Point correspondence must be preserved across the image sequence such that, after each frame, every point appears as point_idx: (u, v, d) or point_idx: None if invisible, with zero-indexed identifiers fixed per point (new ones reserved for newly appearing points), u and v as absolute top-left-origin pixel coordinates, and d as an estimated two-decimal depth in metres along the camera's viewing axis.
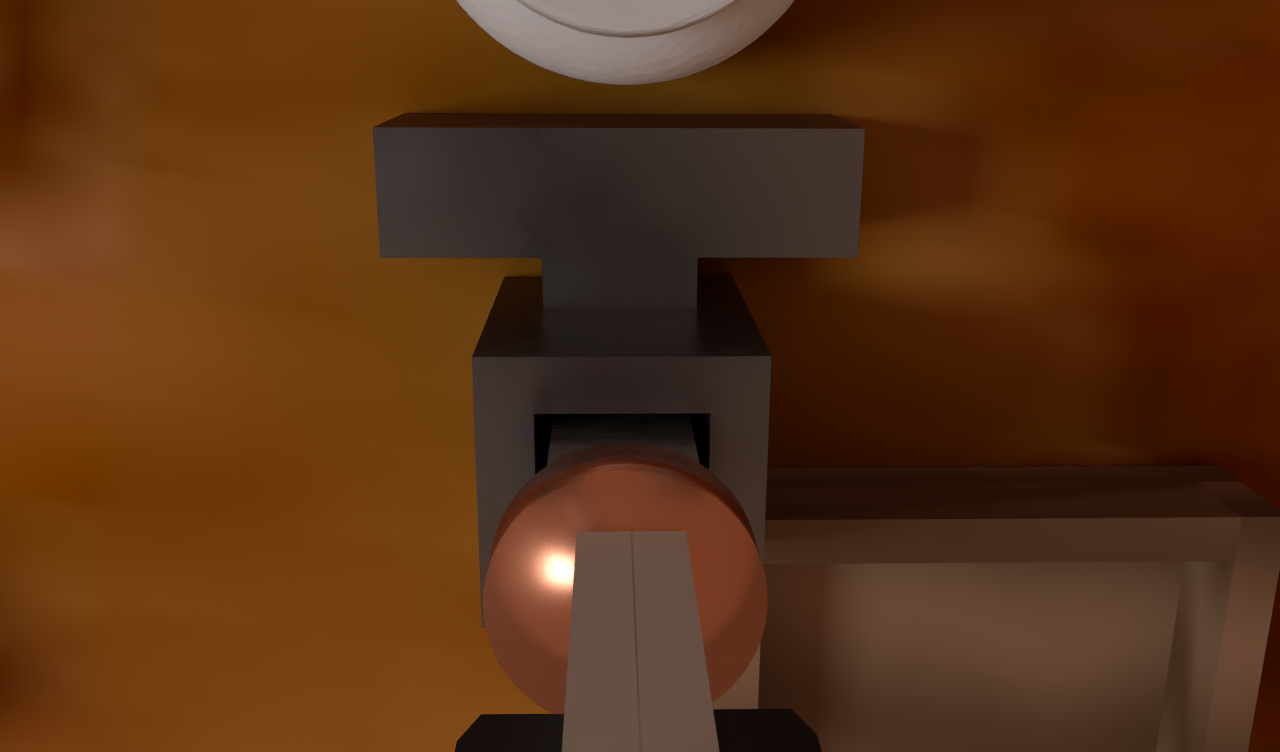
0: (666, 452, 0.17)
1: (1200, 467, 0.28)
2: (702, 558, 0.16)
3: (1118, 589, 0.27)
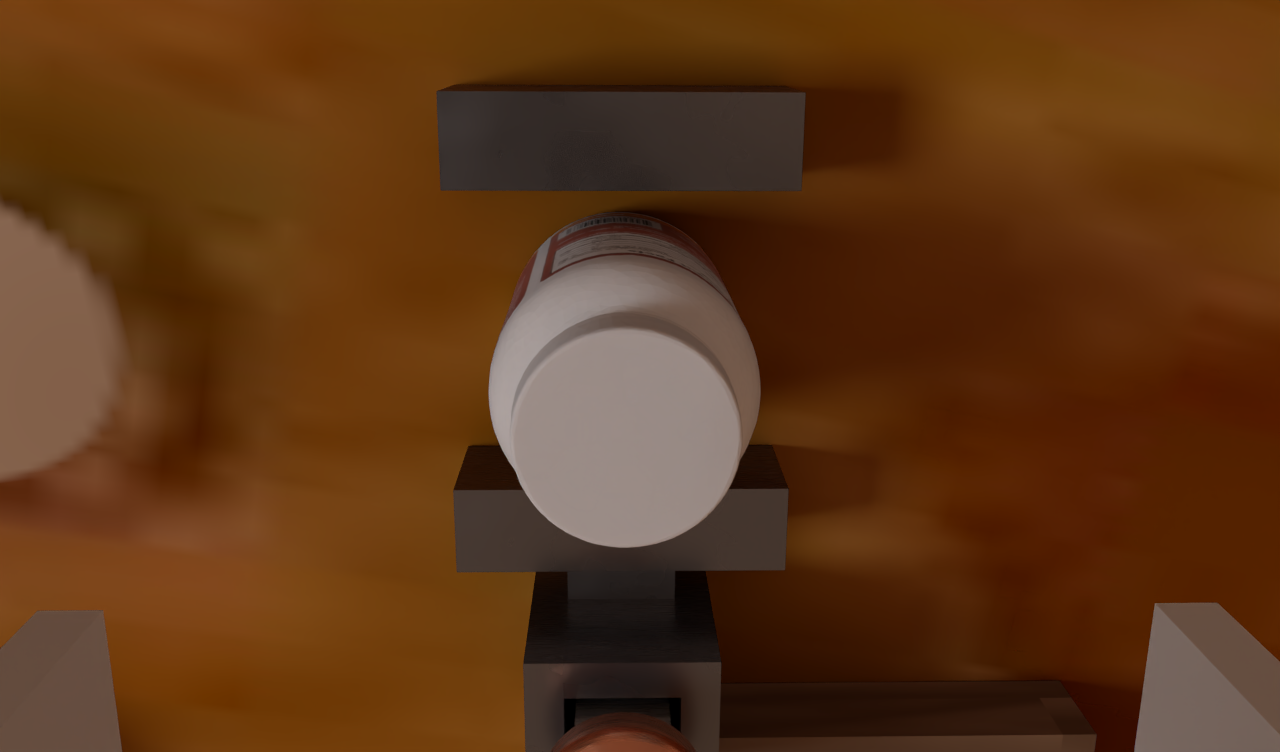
0: (648, 718, 0.29)
1: (1046, 682, 0.38)
2: None
3: None
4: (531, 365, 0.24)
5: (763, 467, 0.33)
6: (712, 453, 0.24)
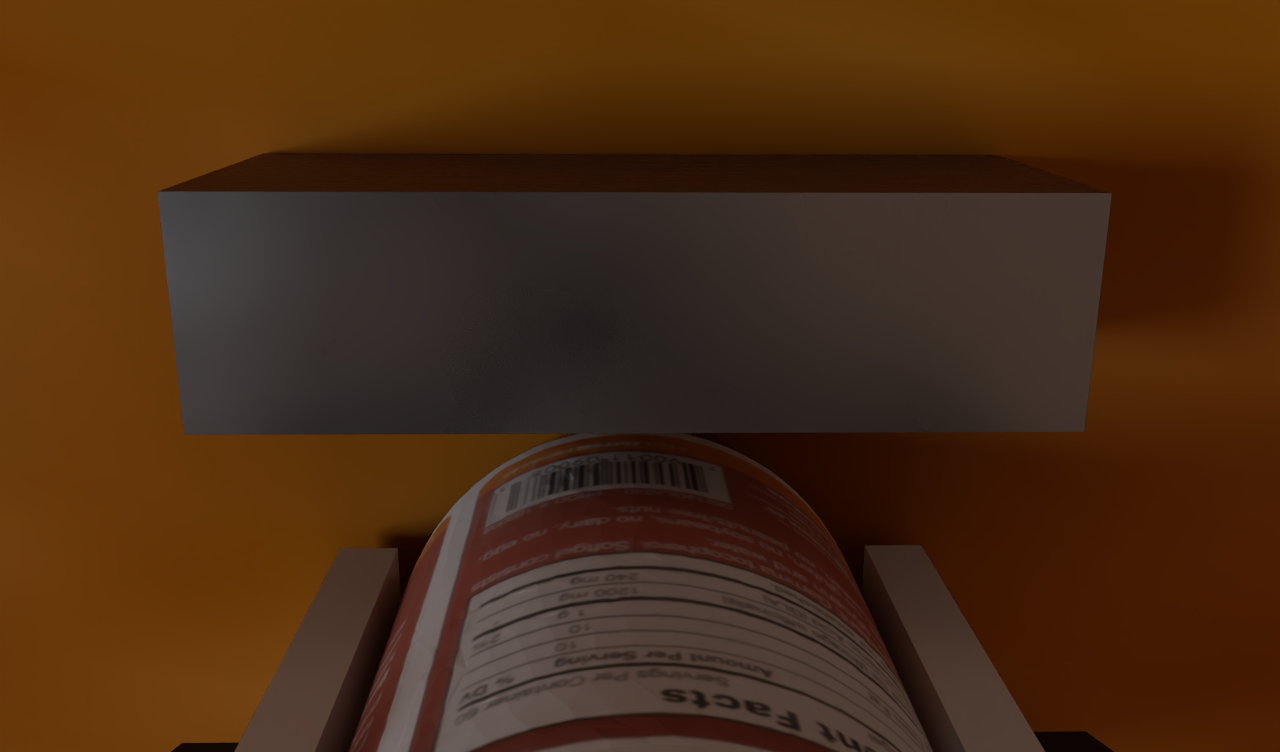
0: None
1: None
2: None
3: None
4: None
5: None
6: None
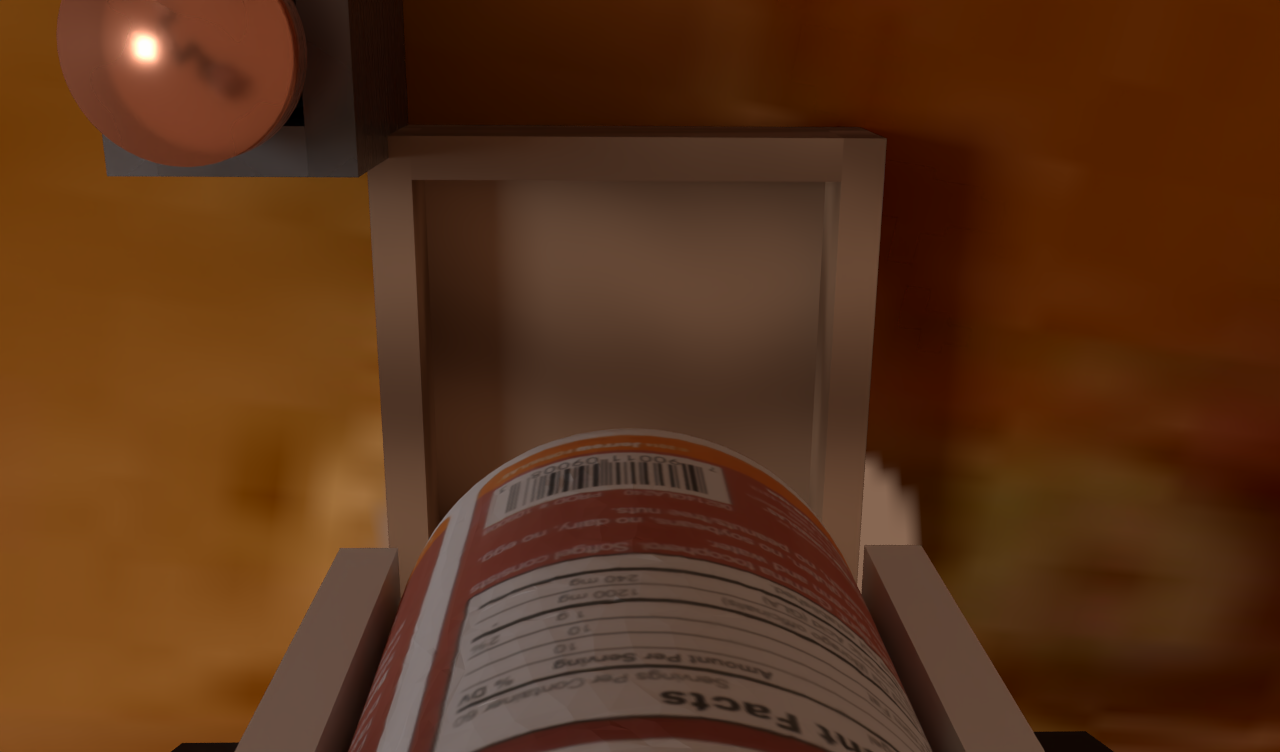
0: None
1: (842, 127, 0.30)
2: (232, 7, 0.20)
3: (766, 236, 0.30)
4: None
5: None
6: None
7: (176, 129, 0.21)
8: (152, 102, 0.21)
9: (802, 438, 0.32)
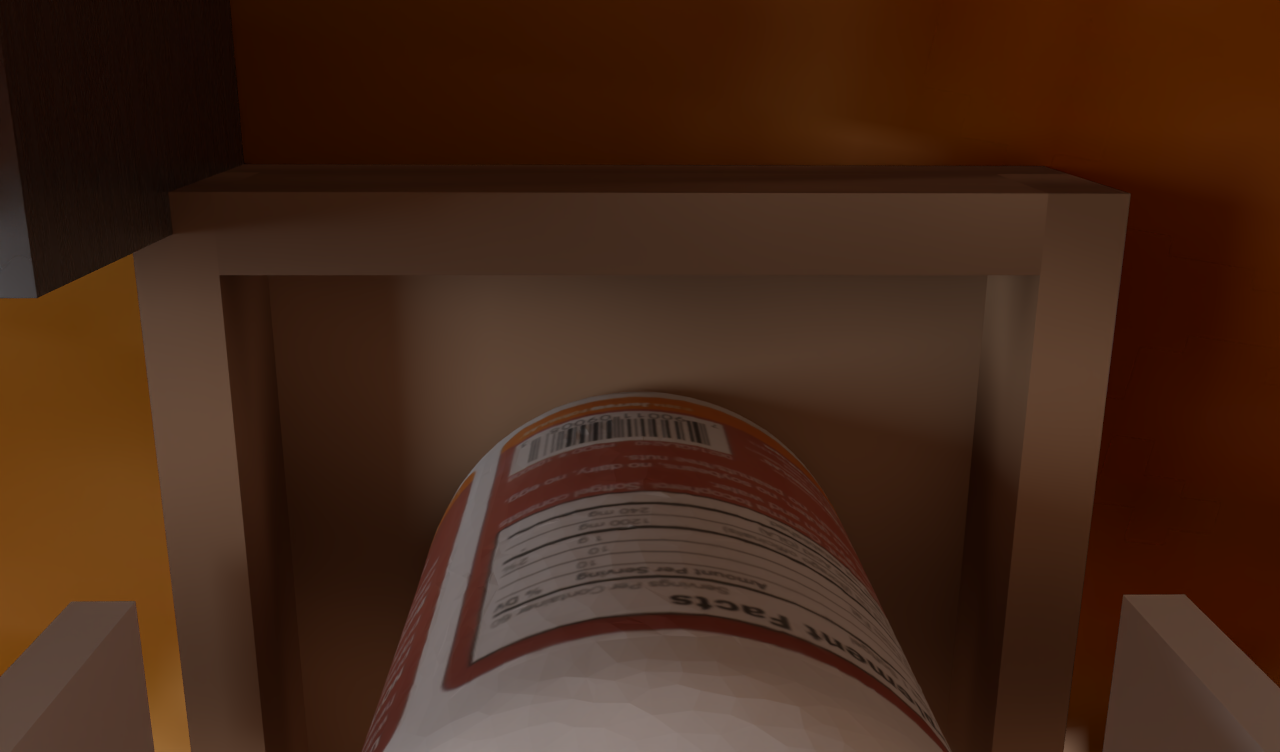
0: None
1: (1014, 166, 0.17)
2: None
3: (880, 361, 0.17)
4: None
5: None
6: None
7: None
8: None
9: (933, 696, 0.18)
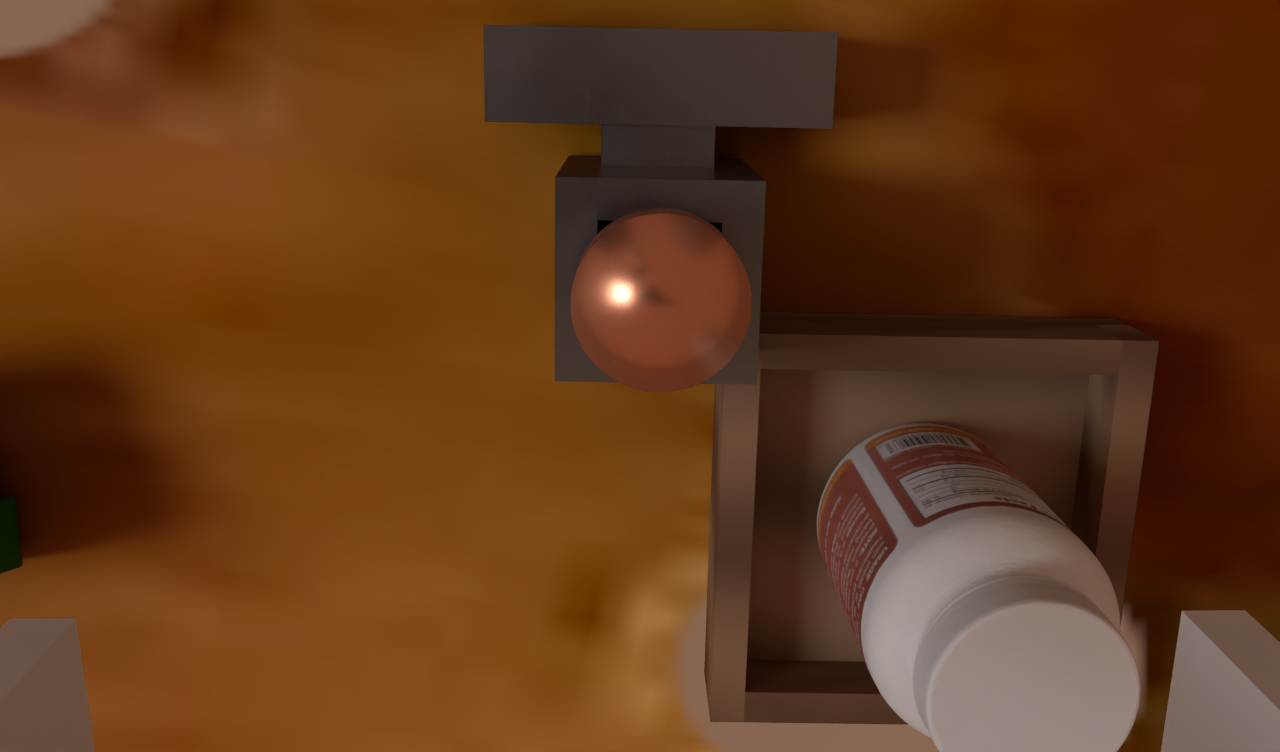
0: (688, 213, 0.27)
1: (1102, 318, 0.36)
2: (710, 273, 0.26)
3: (1037, 410, 0.35)
4: (942, 625, 0.26)
5: None
6: (1112, 712, 0.26)
7: (655, 363, 0.26)
8: (639, 343, 0.26)
9: None
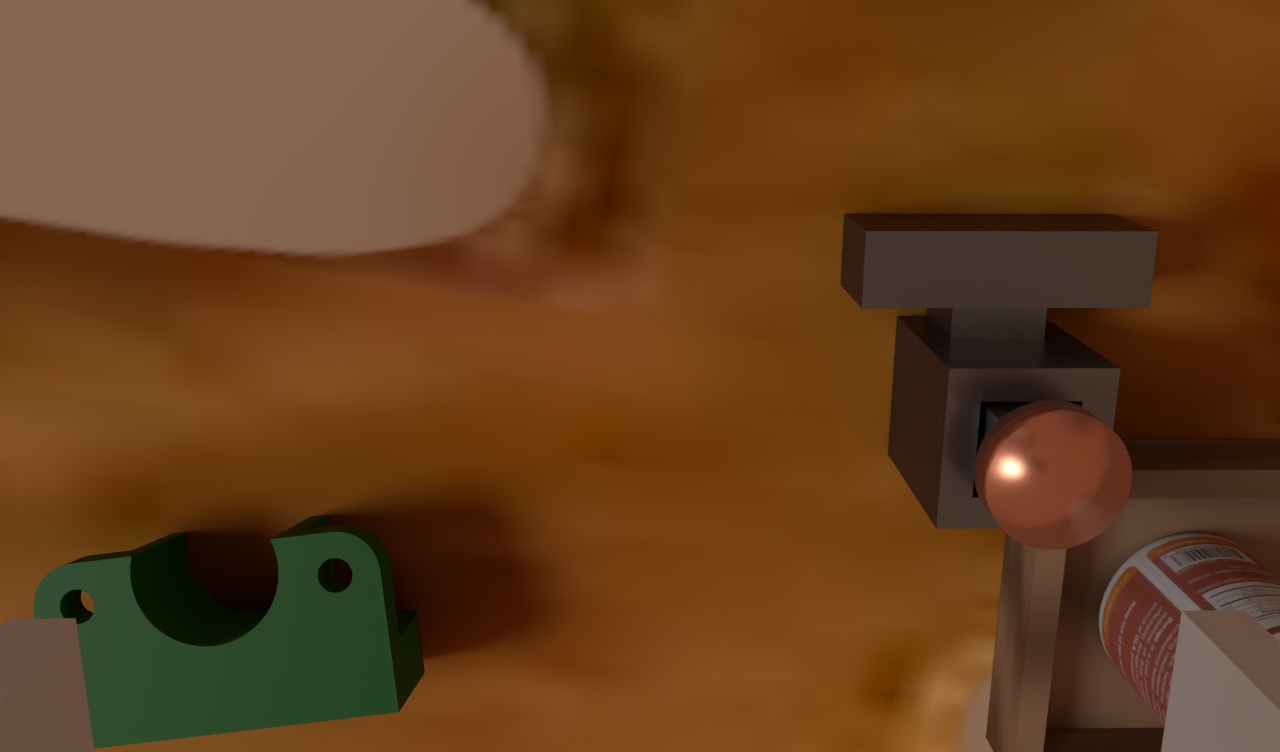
0: (1074, 404, 0.33)
1: None
2: (1100, 457, 0.32)
3: None
4: None
5: (1121, 223, 0.38)
6: None
7: (1050, 527, 0.33)
8: (1039, 512, 0.33)
9: None
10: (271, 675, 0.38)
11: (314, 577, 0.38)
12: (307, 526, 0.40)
